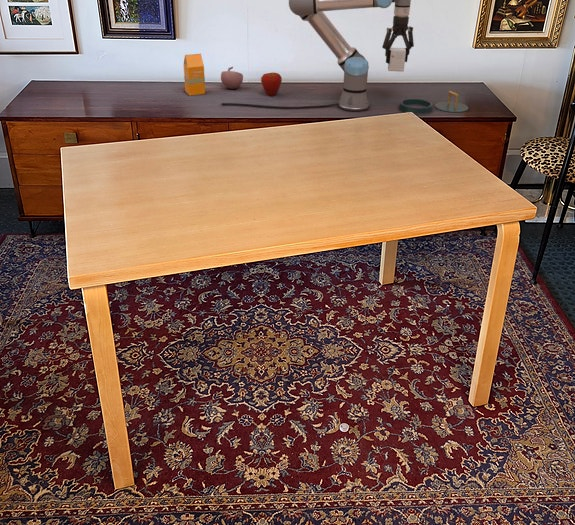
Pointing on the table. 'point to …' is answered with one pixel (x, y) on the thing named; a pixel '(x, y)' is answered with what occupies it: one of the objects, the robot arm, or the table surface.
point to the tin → (413, 109)
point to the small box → (397, 59)
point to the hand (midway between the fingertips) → (396, 62)
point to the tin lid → (451, 105)
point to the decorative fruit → (231, 79)
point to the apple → (271, 83)
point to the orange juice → (194, 74)
